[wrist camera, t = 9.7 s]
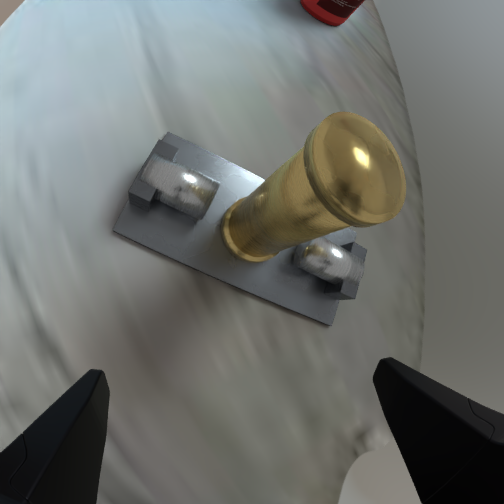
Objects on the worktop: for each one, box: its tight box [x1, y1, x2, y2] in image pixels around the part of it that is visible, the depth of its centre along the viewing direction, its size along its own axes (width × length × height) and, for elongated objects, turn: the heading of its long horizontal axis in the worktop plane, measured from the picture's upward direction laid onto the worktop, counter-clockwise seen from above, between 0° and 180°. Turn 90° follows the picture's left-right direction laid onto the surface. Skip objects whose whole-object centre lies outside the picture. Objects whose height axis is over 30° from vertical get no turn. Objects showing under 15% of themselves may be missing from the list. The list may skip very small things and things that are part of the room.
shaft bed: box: [113, 132, 367, 326], centre depth 22 cm, size 19×9×3 cm, turn 68°
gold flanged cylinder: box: [221, 112, 406, 263], centre depth 17 cm, size 5×5×13 cm
